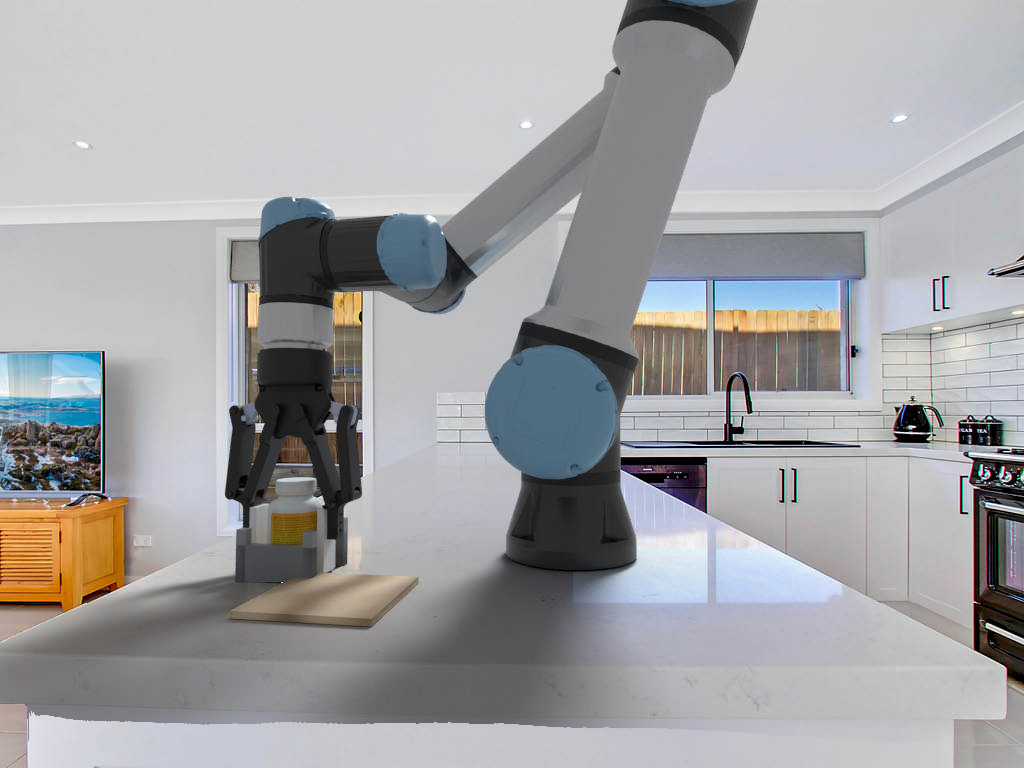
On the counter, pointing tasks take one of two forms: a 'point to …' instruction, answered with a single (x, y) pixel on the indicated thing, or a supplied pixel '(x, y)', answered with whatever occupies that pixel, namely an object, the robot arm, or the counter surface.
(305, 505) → the supplement bottle
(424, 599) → the counter surface
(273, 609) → the square wooden board
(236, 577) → the holder
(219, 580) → the counter surface
